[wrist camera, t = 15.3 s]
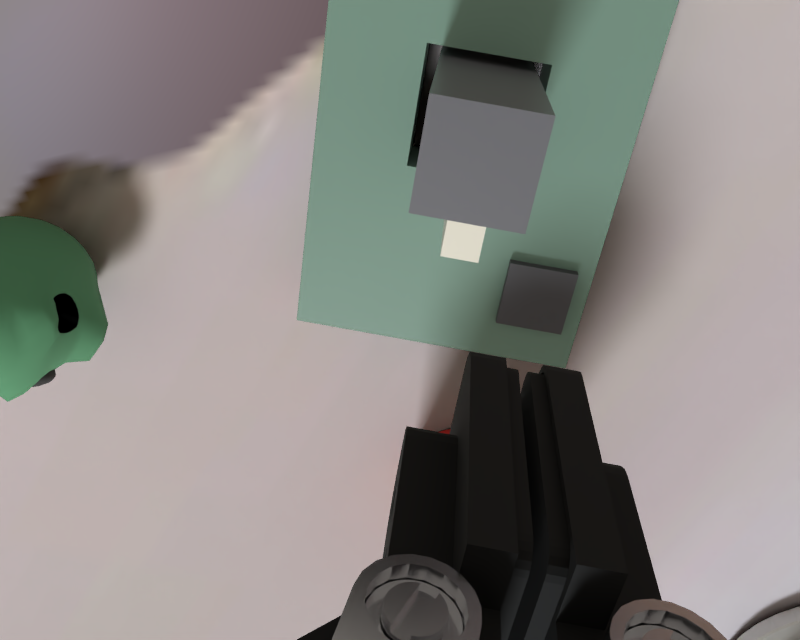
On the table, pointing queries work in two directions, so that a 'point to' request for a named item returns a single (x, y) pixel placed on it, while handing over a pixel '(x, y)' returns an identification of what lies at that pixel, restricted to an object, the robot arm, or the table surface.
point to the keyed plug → (481, 148)
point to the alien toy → (44, 304)
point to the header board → (397, 160)
